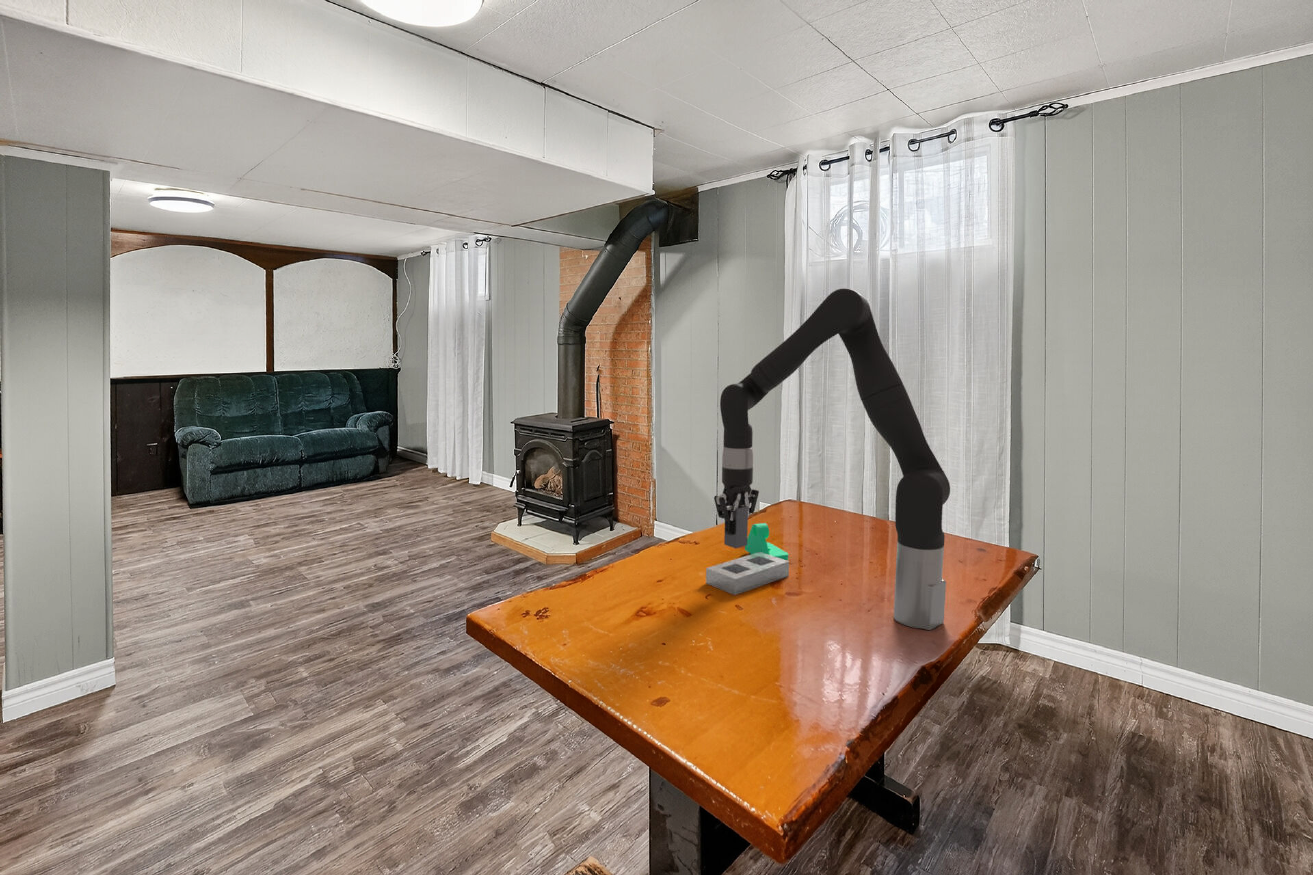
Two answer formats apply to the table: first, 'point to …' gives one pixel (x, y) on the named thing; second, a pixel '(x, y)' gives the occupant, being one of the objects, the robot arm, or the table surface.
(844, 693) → the table surface
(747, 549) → the camera mount
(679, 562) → the table surface
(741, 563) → the rail
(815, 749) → the table surface
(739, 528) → the peg
